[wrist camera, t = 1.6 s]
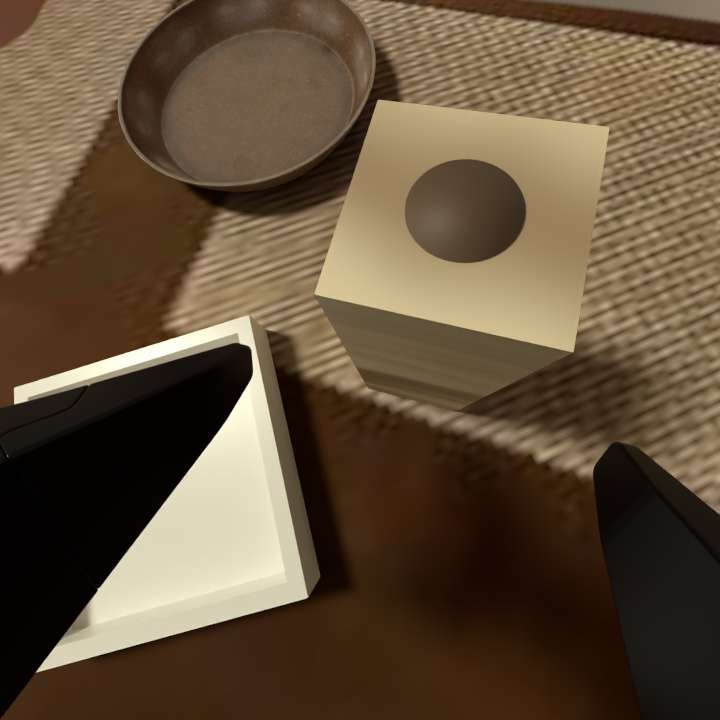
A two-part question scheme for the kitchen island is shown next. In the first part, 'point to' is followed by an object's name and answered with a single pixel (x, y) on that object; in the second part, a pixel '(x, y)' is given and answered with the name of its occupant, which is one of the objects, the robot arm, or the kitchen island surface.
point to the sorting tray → (203, 515)
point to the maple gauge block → (462, 249)
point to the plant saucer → (246, 90)
